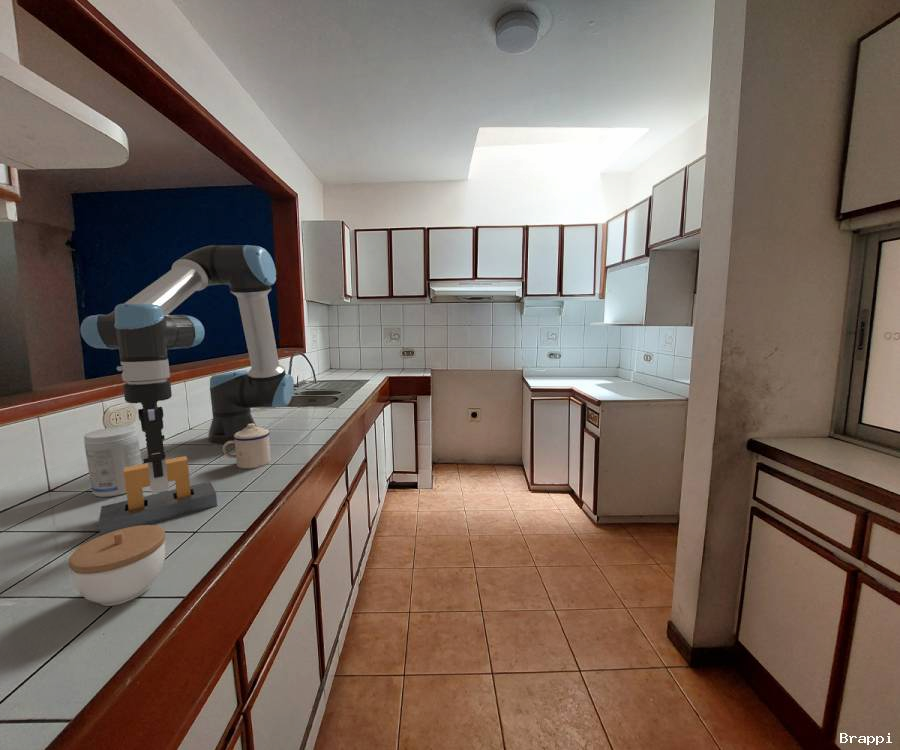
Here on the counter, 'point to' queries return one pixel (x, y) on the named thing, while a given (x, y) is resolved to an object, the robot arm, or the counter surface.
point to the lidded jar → (119, 564)
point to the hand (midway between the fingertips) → (158, 480)
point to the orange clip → (140, 478)
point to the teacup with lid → (250, 447)
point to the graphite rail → (156, 508)
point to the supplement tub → (111, 458)
